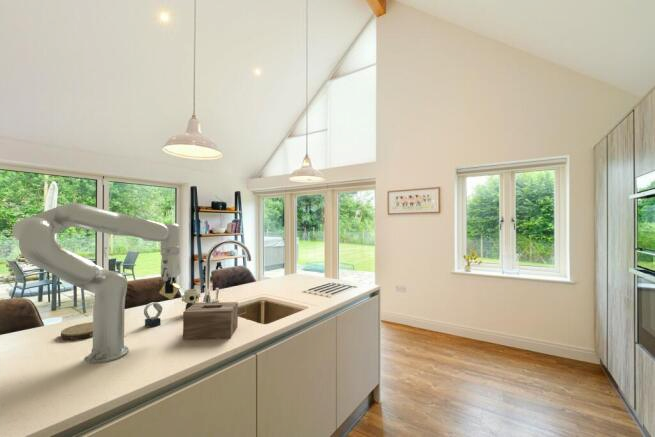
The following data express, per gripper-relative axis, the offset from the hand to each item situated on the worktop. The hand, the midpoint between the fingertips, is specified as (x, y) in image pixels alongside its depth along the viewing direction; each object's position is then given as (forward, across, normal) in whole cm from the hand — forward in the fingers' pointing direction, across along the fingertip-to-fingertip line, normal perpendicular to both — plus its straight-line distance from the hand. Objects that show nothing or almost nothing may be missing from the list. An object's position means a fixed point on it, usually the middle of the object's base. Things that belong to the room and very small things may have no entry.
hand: (170, 292), depth 128 cm
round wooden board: (+20, +7, +40) cm, 45 cm away
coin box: (+20, +2, -17) cm, 26 cm away
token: (+1, 0, +2) cm, 2 cm away
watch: (+20, +15, +14) cm, 29 cm away
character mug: (+20, +32, +2) cm, 38 cm away
